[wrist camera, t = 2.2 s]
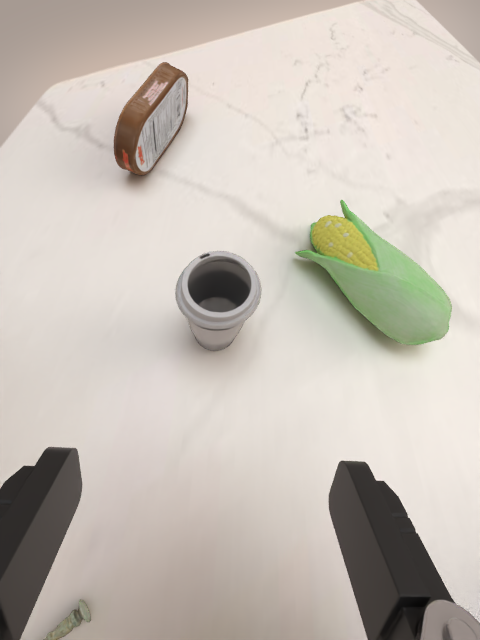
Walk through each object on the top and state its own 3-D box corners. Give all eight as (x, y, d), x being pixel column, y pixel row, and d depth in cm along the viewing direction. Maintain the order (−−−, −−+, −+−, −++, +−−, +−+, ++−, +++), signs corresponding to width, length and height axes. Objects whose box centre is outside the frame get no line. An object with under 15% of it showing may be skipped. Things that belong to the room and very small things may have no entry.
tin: (174, 109, 48) (168, 44, 40) (193, 117, 48) (191, 54, 40) (120, 182, 43) (101, 124, 35) (142, 192, 43) (128, 135, 35)
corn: (413, 370, 33) (275, 235, 37) (404, 358, 40) (290, 247, 44) (487, 312, 30) (330, 174, 35) (463, 310, 38) (336, 197, 42)
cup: (229, 293, 39) (239, 233, 28) (256, 342, 37) (279, 300, 26) (173, 318, 37) (159, 265, 26) (199, 371, 35) (196, 338, 24)
